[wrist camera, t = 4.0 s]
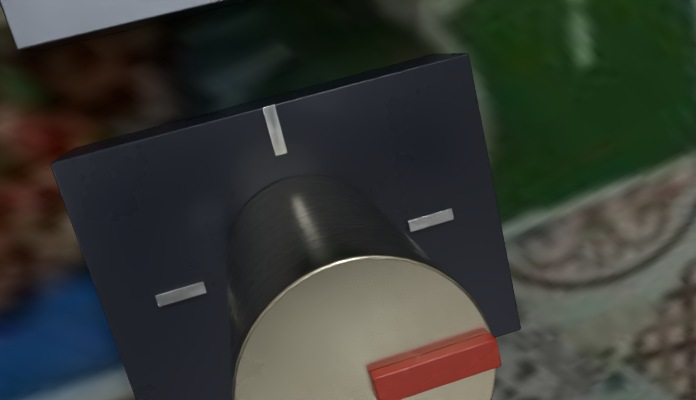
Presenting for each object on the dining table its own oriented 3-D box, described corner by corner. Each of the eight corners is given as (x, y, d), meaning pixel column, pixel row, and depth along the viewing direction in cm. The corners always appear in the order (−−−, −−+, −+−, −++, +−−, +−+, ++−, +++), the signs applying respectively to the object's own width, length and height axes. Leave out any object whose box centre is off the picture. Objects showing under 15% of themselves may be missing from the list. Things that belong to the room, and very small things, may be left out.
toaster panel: (161, 399, 23) (153, 452, 19) (72, 148, 20) (47, 164, 17) (485, 297, 24) (524, 331, 21) (436, 53, 22) (471, 52, 19)
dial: (251, 352, 20) (275, 554, 12) (205, 200, 18) (195, 310, 10) (403, 304, 20) (525, 465, 12) (368, 155, 19) (476, 226, 11)
